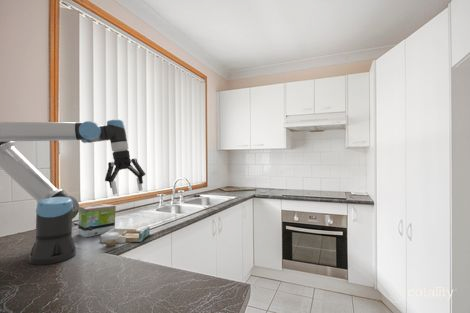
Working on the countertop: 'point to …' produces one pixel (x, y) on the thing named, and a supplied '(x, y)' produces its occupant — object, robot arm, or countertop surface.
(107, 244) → the stand
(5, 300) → the countertop surface
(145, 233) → the tray
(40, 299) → the countertop surface
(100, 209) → the tea box
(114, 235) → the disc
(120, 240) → the dock
